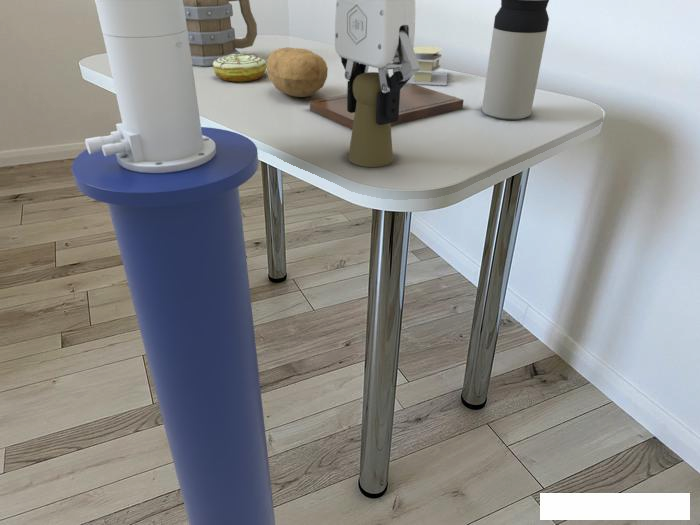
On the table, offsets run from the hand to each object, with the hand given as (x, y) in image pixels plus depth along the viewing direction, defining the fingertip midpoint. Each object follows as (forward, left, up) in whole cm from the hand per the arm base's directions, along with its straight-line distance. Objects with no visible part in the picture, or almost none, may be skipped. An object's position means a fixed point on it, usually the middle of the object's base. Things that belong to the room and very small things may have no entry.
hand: (372, 115), depth 69 cm
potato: (+8, +32, -6) cm, 34 cm away
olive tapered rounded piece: (0, 0, -6) cm, 6 cm away
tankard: (+11, +67, -6) cm, 68 cm away
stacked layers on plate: (+36, +28, -6) cm, 46 cm away
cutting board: (+16, +16, -6) cm, 23 cm away
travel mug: (+31, +3, -6) cm, 32 cm away
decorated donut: (+6, +50, -6) cm, 51 cm away
